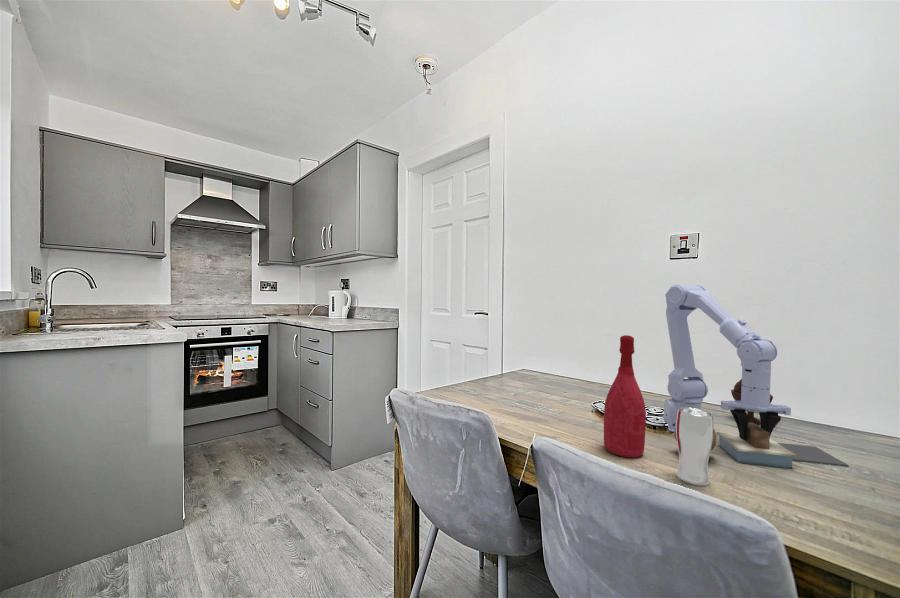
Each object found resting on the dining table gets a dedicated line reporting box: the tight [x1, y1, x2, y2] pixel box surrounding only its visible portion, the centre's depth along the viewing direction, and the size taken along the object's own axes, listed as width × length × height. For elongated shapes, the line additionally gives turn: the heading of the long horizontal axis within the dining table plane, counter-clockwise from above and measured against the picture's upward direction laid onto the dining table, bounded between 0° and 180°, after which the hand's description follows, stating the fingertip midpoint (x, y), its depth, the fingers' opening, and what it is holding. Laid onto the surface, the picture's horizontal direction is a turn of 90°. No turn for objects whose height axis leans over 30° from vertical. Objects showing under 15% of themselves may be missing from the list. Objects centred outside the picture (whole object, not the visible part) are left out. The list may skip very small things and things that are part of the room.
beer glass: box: [676, 407, 714, 487], centre depth 85 cm, size 7×7×15 cm
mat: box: [777, 442, 850, 468], centre depth 101 cm, size 14×12×1 cm
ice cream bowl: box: [730, 378, 774, 425], centre depth 127 cm, size 11×11×15 cm
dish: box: [718, 436, 793, 469], centre depth 98 cm, size 11×11×3 cm
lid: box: [716, 422, 796, 457], centre depth 98 cm, size 12×12×4 cm
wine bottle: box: [603, 334, 647, 458], centre depth 99 cm, size 10×10×30 cm
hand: (753, 439), depth 98 cm, fingers open, 4 cm apart
